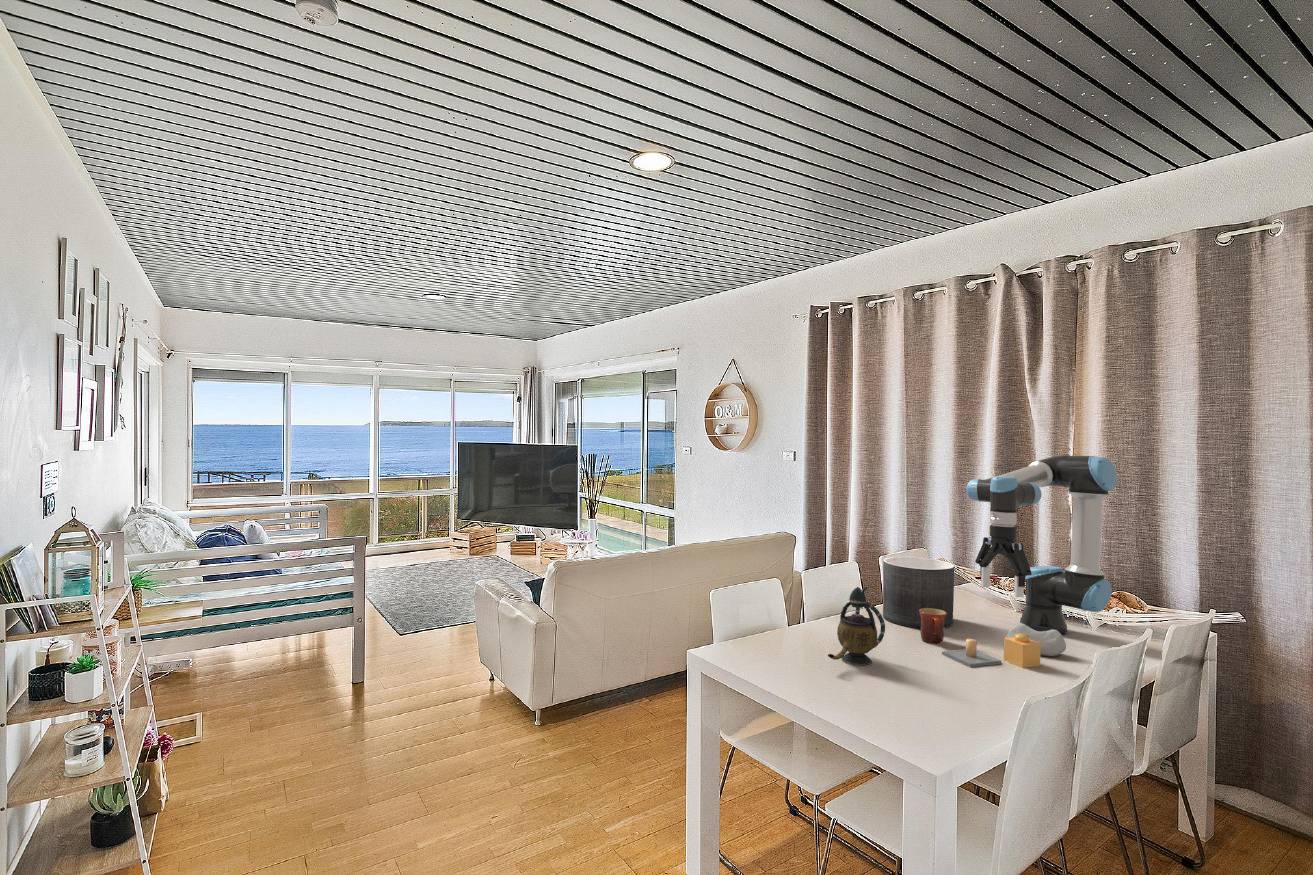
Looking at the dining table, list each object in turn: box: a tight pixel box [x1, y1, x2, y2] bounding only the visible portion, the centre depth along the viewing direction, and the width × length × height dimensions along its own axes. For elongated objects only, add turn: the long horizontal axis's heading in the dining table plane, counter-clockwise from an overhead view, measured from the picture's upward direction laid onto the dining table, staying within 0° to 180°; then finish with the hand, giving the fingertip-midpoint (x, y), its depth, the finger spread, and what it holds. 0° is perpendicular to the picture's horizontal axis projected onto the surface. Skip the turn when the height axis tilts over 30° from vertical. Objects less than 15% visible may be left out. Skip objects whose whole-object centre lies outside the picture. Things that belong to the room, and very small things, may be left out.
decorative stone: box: [1004, 622, 1067, 657], centre depth 213 cm, size 17×10×10 cm
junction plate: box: [941, 638, 1003, 668], centre depth 204 cm, size 12×12×6 cm
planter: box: [882, 556, 955, 629], centre depth 249 cm, size 25×25×22 cm
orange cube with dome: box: [1003, 634, 1041, 669], centre depth 202 cm, size 7×7×9 cm
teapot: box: [827, 586, 886, 667], centre depth 198 cm, size 12×25×23 cm, turn 135°
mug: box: [919, 608, 946, 645], centre depth 221 cm, size 12×9×10 cm
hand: (1001, 591), depth 205 cm, fingers open, 13 cm apart
